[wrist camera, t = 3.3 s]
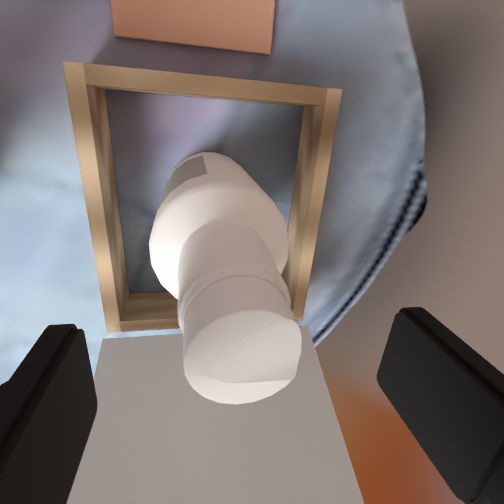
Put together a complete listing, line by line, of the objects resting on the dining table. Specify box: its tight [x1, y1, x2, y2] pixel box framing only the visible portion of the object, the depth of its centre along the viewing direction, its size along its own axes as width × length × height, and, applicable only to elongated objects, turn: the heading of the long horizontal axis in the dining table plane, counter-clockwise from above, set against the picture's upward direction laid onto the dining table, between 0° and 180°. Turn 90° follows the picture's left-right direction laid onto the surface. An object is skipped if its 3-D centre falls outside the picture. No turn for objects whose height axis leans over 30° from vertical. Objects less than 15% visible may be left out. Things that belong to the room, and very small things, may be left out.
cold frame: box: [62, 61, 342, 333], centre depth 23 cm, size 18×16×4 cm
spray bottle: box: [149, 152, 302, 404], centre depth 16 cm, size 7×7×18 cm
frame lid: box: [67, 325, 364, 504], centre depth 17 cm, size 18×16×1 cm
